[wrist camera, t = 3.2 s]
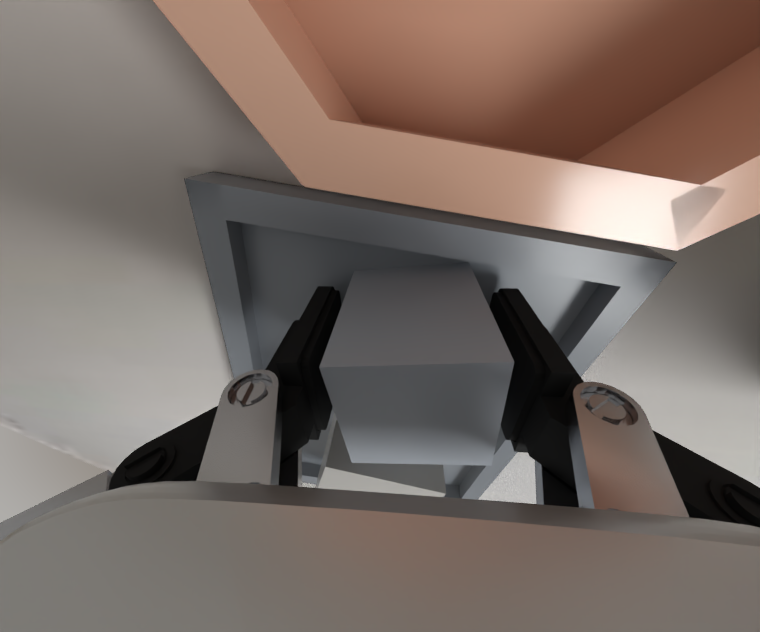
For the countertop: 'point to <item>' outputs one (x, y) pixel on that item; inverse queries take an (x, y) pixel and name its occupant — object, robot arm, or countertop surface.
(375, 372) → the matte gray cube
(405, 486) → the pebble grey
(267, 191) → the tray
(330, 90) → the bowl
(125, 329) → the countertop surface
